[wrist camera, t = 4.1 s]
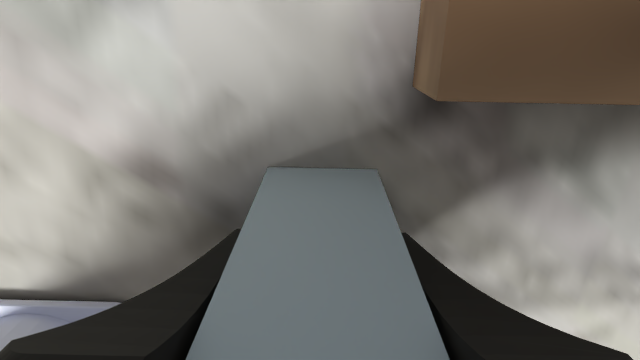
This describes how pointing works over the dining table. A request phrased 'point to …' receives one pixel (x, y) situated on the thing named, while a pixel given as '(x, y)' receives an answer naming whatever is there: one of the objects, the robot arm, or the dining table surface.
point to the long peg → (319, 277)
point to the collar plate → (529, 51)
